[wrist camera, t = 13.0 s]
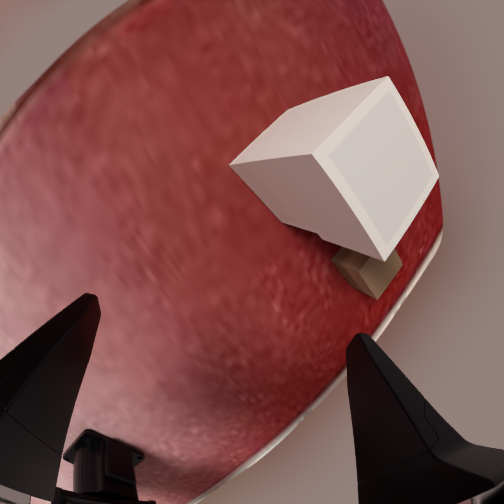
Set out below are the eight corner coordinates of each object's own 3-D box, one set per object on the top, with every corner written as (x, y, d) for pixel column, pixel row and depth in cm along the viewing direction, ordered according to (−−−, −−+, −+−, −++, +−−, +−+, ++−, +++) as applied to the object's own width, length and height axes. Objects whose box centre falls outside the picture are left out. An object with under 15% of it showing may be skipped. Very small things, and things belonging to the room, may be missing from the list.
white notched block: (285, 226, 20) (384, 261, 12) (228, 165, 18) (311, 153, 9) (334, 171, 21) (439, 176, 12) (287, 109, 18) (388, 76, 10)
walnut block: (350, 285, 24) (377, 299, 21) (330, 259, 23) (358, 272, 20) (374, 254, 25) (402, 264, 22) (357, 226, 23) (386, 234, 20)
